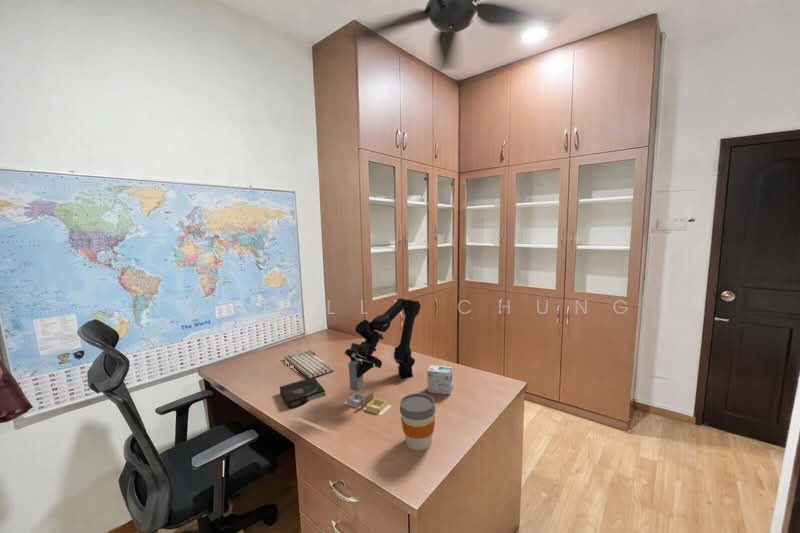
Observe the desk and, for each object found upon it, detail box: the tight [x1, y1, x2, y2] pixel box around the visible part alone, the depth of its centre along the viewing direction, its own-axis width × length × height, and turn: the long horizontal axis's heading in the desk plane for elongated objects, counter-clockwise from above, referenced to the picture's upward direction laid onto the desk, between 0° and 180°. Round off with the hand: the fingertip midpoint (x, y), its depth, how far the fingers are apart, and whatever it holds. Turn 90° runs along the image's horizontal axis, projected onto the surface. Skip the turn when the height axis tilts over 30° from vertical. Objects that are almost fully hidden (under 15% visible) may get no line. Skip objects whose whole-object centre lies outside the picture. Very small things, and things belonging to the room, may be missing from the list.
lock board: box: [344, 391, 392, 416], centre depth 139 cm, size 20×8×5 cm, turn 59°
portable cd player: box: [279, 377, 326, 410], centre depth 151 cm, size 16×17×4 cm
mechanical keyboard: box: [283, 348, 335, 379], centre depth 185 cm, size 38×19×3 cm, turn 40°
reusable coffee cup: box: [399, 393, 436, 451], centre depth 114 cm, size 13×13×15 cm
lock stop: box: [348, 359, 364, 392], centre depth 140 cm, size 4×4×12 cm
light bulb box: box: [426, 364, 454, 396], centre depth 149 cm, size 11×7×11 cm, turn 71°
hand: (353, 376), depth 138 cm, fingers closed on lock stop, 4 cm apart
